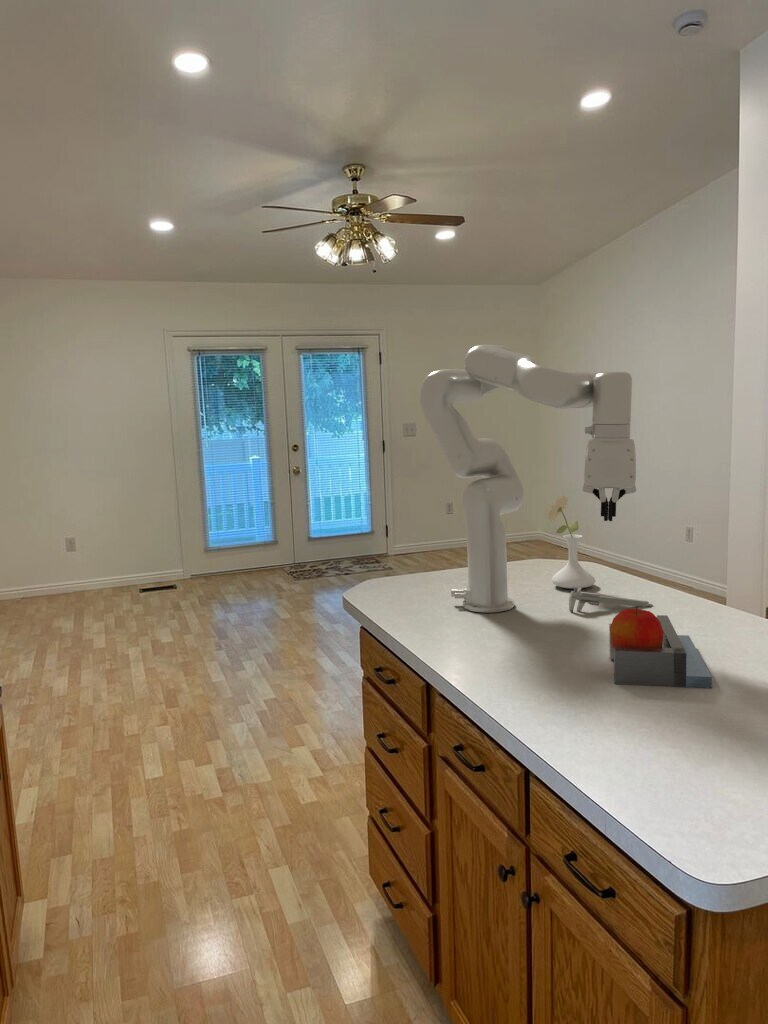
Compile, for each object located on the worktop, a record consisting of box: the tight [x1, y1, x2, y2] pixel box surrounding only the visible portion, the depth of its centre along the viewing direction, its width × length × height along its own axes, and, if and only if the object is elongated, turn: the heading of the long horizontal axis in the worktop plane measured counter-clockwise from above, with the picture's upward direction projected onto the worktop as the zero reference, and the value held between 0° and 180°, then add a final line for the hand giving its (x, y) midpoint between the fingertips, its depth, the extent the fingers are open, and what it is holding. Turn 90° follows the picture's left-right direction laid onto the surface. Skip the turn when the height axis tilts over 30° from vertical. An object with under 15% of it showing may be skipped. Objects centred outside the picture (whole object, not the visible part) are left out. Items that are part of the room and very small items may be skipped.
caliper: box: [568, 587, 654, 613], centre depth 166 cm, size 20×1×6 cm, turn 97°
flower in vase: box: [546, 494, 596, 590], centre depth 186 cm, size 13×11×25 cm
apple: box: [610, 606, 664, 649], centre depth 127 cm, size 9×9×12 cm
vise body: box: [613, 614, 713, 689], centre depth 130 cm, size 16×22×6 cm
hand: (607, 519), depth 148 cm, fingers closed
